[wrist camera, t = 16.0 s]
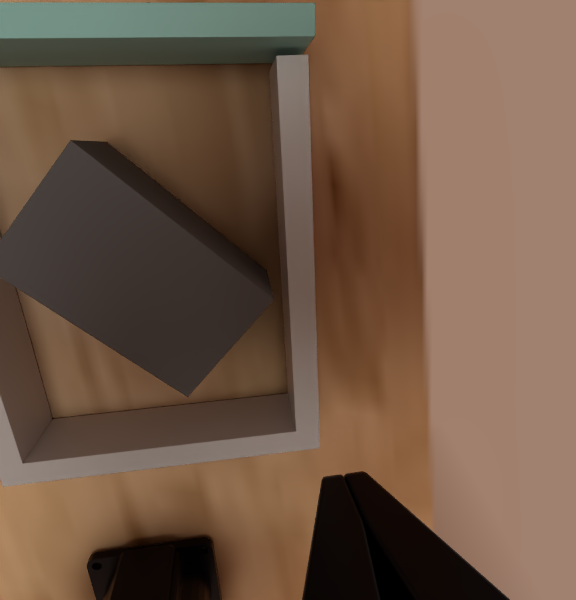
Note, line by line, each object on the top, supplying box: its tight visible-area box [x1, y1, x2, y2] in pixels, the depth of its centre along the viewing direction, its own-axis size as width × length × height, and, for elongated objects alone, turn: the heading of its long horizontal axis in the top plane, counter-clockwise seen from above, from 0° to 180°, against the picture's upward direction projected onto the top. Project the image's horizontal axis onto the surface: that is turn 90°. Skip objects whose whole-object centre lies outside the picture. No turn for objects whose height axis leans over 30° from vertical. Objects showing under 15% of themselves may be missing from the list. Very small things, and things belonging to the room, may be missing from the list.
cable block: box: [0, 140, 274, 397], centre depth 16 cm, size 5×8×4 cm, turn 49°
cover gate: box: [0, 3, 315, 67], centre depth 13 cm, size 1×13×4 cm, turn 91°
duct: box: [0, 55, 320, 487], centre depth 16 cm, size 17×15×4 cm
